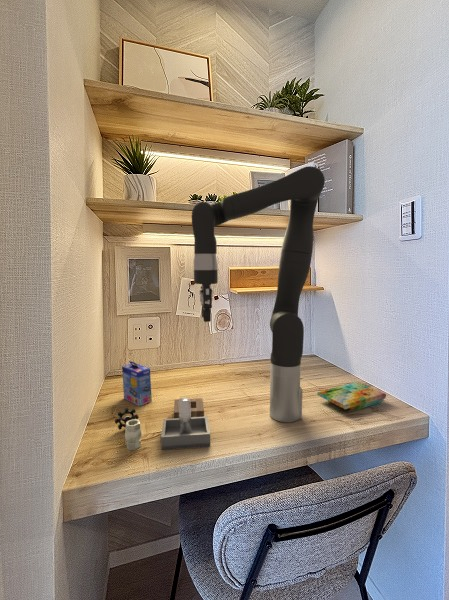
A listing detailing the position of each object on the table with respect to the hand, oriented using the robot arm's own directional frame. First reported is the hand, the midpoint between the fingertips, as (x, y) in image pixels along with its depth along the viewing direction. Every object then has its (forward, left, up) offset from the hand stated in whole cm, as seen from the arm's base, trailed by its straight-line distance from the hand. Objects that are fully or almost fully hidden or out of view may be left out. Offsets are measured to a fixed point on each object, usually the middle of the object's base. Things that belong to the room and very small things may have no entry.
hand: (206, 319), depth 99 cm
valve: (+22, +15, -30) cm, 40 cm away
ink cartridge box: (+24, -10, -30) cm, 40 cm away
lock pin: (+7, +17, -29) cm, 34 cm away
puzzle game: (-50, +2, -31) cm, 59 cm away
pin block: (+6, +5, -30) cm, 31 cm away
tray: (+7, +17, -30) cm, 35 cm away
